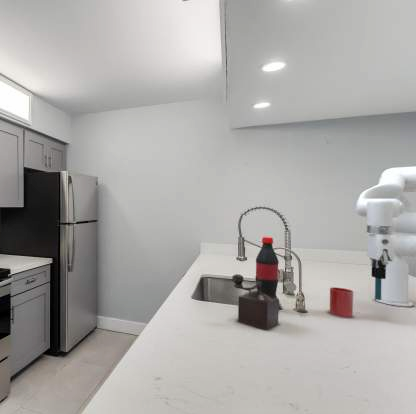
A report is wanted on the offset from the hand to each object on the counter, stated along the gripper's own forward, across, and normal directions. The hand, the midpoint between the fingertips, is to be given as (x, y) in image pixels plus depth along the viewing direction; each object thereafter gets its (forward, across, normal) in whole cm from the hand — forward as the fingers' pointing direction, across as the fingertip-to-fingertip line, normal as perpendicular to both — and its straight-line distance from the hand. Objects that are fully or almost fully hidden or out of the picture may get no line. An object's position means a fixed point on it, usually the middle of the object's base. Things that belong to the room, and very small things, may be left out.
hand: (378, 277), depth 122 cm
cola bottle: (+16, -5, +39) cm, 43 cm away
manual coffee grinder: (+15, -28, +46) cm, 56 cm away
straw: (+9, 0, 0) cm, 9 cm away
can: (+16, -1, +12) cm, 20 cm away
